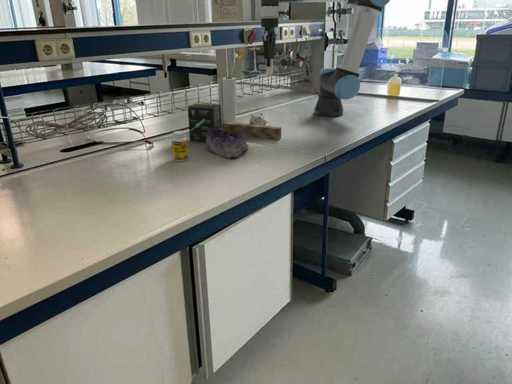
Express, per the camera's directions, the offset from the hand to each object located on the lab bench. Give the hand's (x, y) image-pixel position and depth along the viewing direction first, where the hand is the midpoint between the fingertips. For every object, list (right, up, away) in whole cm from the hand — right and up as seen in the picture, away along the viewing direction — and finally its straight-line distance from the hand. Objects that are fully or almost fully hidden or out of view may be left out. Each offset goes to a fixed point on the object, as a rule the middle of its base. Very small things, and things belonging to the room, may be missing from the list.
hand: (269, 73), depth 189 cm
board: (-8, -30, -9) cm, 32 cm away
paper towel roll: (-19, -21, +11) cm, 30 cm away
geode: (-18, -38, -28) cm, 51 cm away
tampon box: (-27, -32, -13) cm, 44 cm away
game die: (-5, -27, -2) cm, 27 cm away
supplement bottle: (-33, -42, -37) cm, 65 cm away
